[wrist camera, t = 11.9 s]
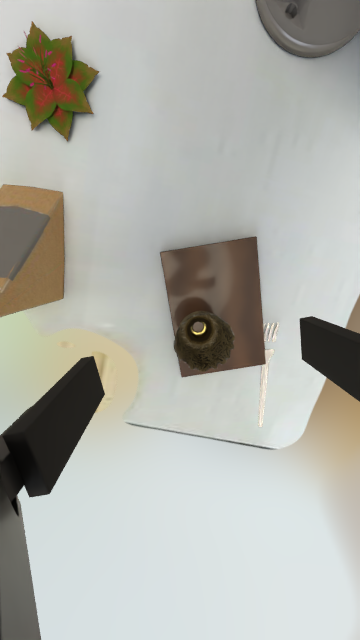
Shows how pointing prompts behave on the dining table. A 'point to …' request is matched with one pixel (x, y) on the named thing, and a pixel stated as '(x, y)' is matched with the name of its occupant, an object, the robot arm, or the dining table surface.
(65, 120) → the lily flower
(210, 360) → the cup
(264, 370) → the fork
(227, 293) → the walnut board
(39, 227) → the sandwich container
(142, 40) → the dining table surface
